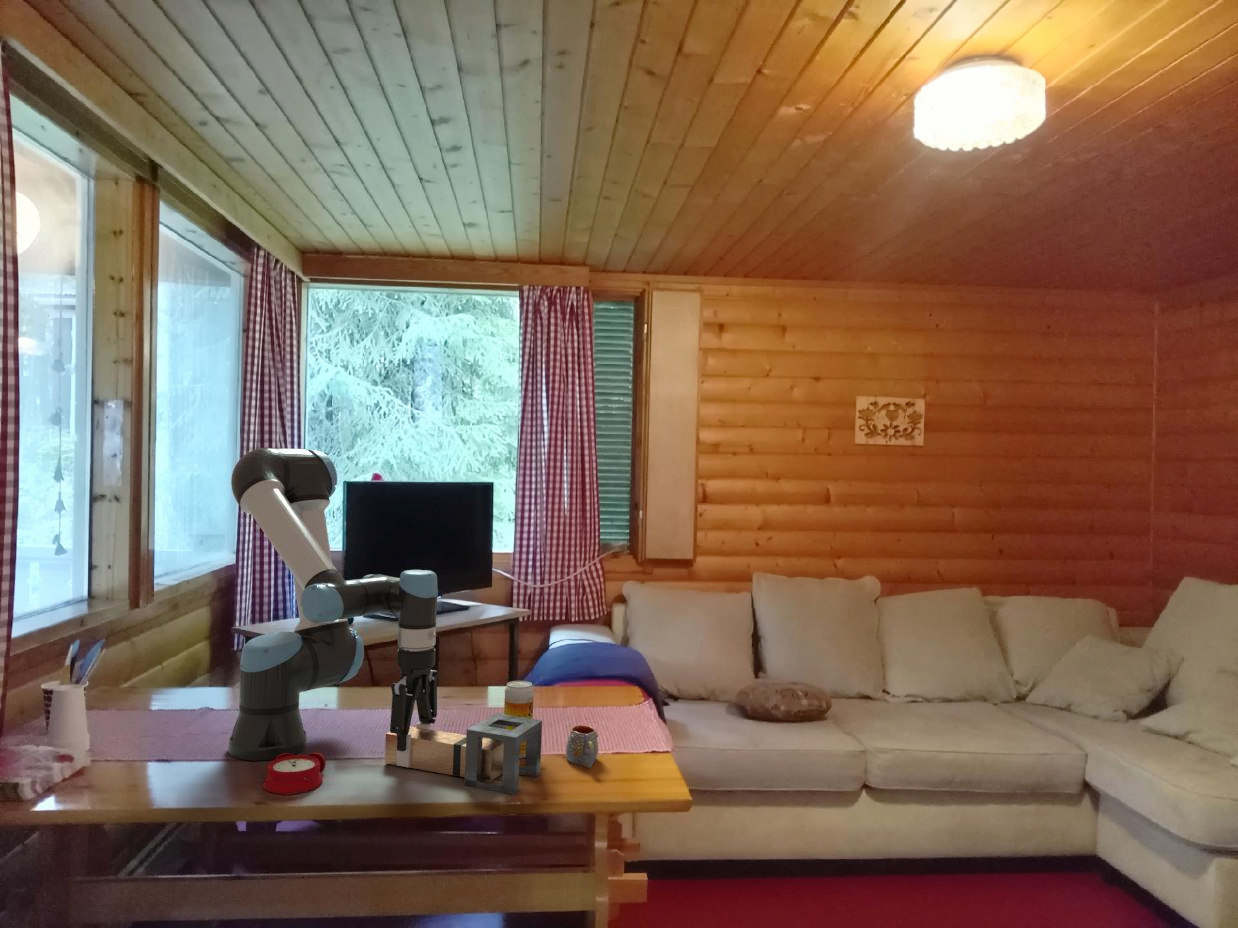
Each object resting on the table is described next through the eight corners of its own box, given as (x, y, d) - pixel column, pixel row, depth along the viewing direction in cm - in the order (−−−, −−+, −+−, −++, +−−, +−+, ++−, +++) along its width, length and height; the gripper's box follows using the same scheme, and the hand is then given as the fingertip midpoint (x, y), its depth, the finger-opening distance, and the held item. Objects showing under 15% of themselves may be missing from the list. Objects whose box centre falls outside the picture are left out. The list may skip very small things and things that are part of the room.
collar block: (464, 785, 163) (466, 729, 163) (493, 765, 174) (495, 712, 174) (513, 794, 159) (516, 737, 159) (540, 773, 170) (542, 720, 170)
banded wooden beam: (384, 763, 172) (385, 732, 172) (402, 753, 178) (403, 724, 178) (490, 781, 164) (491, 749, 164) (504, 771, 170) (505, 740, 170)
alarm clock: (255, 778, 153) (276, 733, 168) (256, 809, 155) (277, 762, 169) (316, 777, 155) (331, 733, 169) (316, 808, 156) (331, 761, 171)
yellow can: (526, 760, 178) (528, 688, 178) (498, 757, 179) (501, 686, 179) (534, 750, 184) (537, 681, 184) (507, 747, 185) (510, 678, 185)
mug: (563, 755, 182) (563, 724, 182) (594, 753, 184) (595, 722, 184) (572, 776, 170) (573, 743, 170) (606, 774, 172) (607, 741, 172)
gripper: (405, 658, 163) (401, 778, 163) (457, 640, 181) (453, 748, 181) (372, 654, 166) (368, 772, 166) (426, 636, 184) (423, 743, 184)
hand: (413, 760), depth 174 cm, fingers closed on banded wooden beam, 6 cm apart
